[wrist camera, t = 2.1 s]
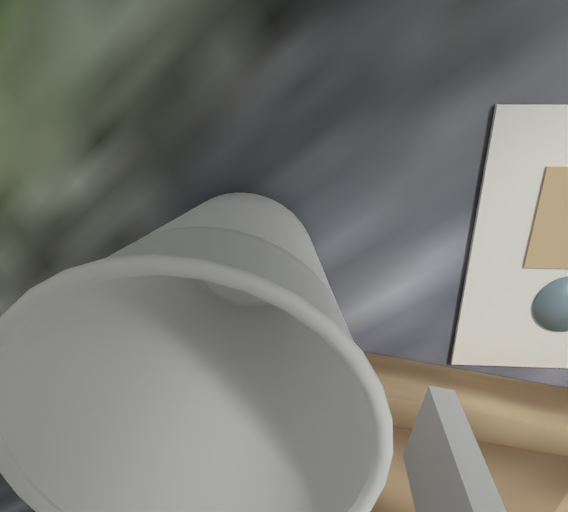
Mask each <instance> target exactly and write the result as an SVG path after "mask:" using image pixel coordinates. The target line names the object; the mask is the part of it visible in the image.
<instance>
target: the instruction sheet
mask: <svg viewBox="0 0 568 512" xmlns="http://www.w3.org/2000/svg"><path fill="white" fill-rule="evenodd" d="M450 362H451V364H452V365H482V366H512V367H543V368H568V104H495V109H494V114H493V120H492V126H491V132H490V137H489V143H488V149H487V154H486V160H485V166H484V172H483V177H482V183H481V189H480V195H479V200H478V206H477V212H476V218H475V223H474V229H473V235H472V240H471V246H470V252H469V258H468V263H467V269H466V275H465V281H464V286H463V292H462V298H461V304H460V309H459V315H458V321H457V327H456V332H455V338H454V344H453V349H452V355H451V361H450Z"/></svg>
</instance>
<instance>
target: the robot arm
mask: <svg viewBox="0 0 568 512" xmlns="http://www.w3.org/2000/svg"><path fill="white" fill-rule="evenodd" d="M403 458H404V463H405V467H406V472H407V476H408V480H409V485H410V489H411V494H412V498H413V502H414V507H415V511H416V512H507V511H506V509H505V507H504V504H503V502H502V500H501V497H500V495H499V493H498V490H497V488H496V486H495V483H494V481H493V479H492V476H491V474H490V472H489V469H488V467H487V465H486V462H485V460H484V457H483V455H482V453H481V450H480V448H479V446H478V443H477V441H476V439H475V436H474V434H473V432H472V429H471V427H470V425H469V422H468V420H467V418H466V415H465V413H464V411H463V408H462V406H461V404H460V401H459V399H458V397H457V394H456V392H455V390H452V389H446V388H440V387H434V386H428V389H427V391H426V394H425V397H424V399H423V402H422V405H421V407H420V410H419V413H418V415H417V418H416V421H415V423H414V426H413V429H412V431H411V434H410V437H409V439H408V442H407V445H406V448H405V450H404V453H403Z"/></svg>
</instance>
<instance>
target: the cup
mask: <svg viewBox="0 0 568 512" xmlns="http://www.w3.org/2000/svg"><path fill="white" fill-rule="evenodd" d="M392 457H393V419H392V416H391V412H390V409H389V405H388V402H387V399H386V395H385V392H384V388H383V385H382V383H381V382H380V380H379V378H378V377H377V375H376V373H375V371H374V370H373V368H372V366H371V364H370V363H369V361H368V359H367V358H366V356H365V354H364V352H363V351H362V350H361V349H360V348H359V347H358V346H357V345H356V344H355V342H354V341H353V339H352V337H351V334H350V332H349V330H348V327H347V325H346V322H345V320H344V318H343V315H342V313H341V310H340V309H339V307H338V304H337V302H336V300H335V297H334V294H333V293H332V290H331V287H330V286H329V282H328V281H327V278H326V275H325V273H324V270H323V269H322V266H321V264H320V261H319V259H318V256H317V254H316V251H315V249H314V246H313V244H312V241H311V239H310V237H309V235H308V233H307V231H306V229H305V228H304V226H303V224H302V223H301V222H300V221H299V219H298V218H297V217H296V216H295V215H294V214H293V213H292V212H291V211H290V210H288V209H287V208H286V207H284V206H283V205H282V204H280V203H278V202H276V201H274V200H272V199H270V198H268V197H264V196H261V195H257V194H252V193H242V192H239V193H229V194H224V195H220V196H217V197H214V198H211V199H210V200H208V201H206V202H204V203H202V204H200V205H199V206H197V207H195V208H193V209H192V210H190V211H188V212H186V213H185V214H183V215H181V216H180V217H178V218H176V219H174V220H172V221H171V222H169V223H167V224H165V225H164V226H162V227H160V228H158V229H157V230H155V231H153V232H151V233H150V234H148V235H146V236H144V237H142V238H141V239H139V240H137V241H135V242H134V243H132V244H130V245H128V246H126V247H124V248H122V249H121V250H119V251H117V252H115V253H114V254H112V255H110V256H108V257H107V258H104V259H100V260H97V261H93V262H90V263H86V264H83V265H79V266H76V267H72V268H69V269H65V270H63V271H61V272H60V273H58V274H56V275H54V276H52V277H50V278H49V279H47V280H45V281H43V282H41V283H40V284H38V285H36V286H34V287H32V288H30V289H29V290H28V291H27V292H26V293H25V294H24V295H22V296H21V297H20V298H19V299H18V300H17V301H16V302H15V303H14V304H13V305H12V306H11V307H10V308H8V309H7V310H6V311H5V312H4V313H3V314H2V315H1V316H0V473H1V474H2V476H3V477H4V478H5V480H6V481H7V482H8V483H9V485H10V486H11V487H12V489H13V490H14V491H15V492H16V494H17V495H18V496H19V497H20V498H21V499H22V500H23V501H25V502H26V503H27V504H28V505H29V506H30V507H31V508H32V509H33V510H34V511H35V512H370V511H371V510H372V508H373V506H374V504H375V503H376V501H377V499H378V497H379V495H380V493H381V492H382V490H383V488H384V486H385V484H386V481H387V477H388V473H389V469H390V465H391V461H392Z"/></svg>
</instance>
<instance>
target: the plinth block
mask: <svg viewBox="0 0 568 512" xmlns="http://www.w3.org/2000/svg"><path fill="white" fill-rule="evenodd" d="M364 354H365V356H366V358H367V359H368V361H369V363H370V364H371V366H372V368H373V370H374V371H375V373H376V375H377V377H378V378H379V380H380V382H381V383H382V385H383V388H384V392H385V395H386V399H387V402H388V405H389V409H390V412H391V416H392V419H393V457H392V461H391V465H390V469H389V473H388V477H387V481H386V484H385V486H384V488H383V490H382V492H381V493H380V495H379V497H378V499H377V501H376V503H375V504H374V506H373V508H372V510H371V511H370V512H416V511H415V507H414V502H413V498H412V494H411V489H410V485H409V480H408V476H407V472H406V467H405V463H404V458H403V453H404V450H405V448H406V445H407V442H408V439H409V437H410V434H411V431H412V429H413V426H414V423H415V421H416V418H417V415H418V413H419V410H420V407H421V405H422V402H423V399H424V397H425V394H426V391H427V389H428V386H434V387H440V388H446V389H452V390H455V392H456V394H457V397H458V399H459V401H460V404H461V406H462V408H463V411H464V413H465V415H466V418H467V420H468V422H469V425H470V427H471V429H472V432H473V434H474V436H475V439H476V441H477V443H478V446H479V448H480V450H481V453H482V455H483V457H484V460H485V462H486V465H487V467H488V469H489V472H490V474H491V476H492V479H493V481H494V483H495V486H496V488H497V490H498V493H499V495H500V497H501V500H502V502H503V504H504V507H505V509H506V511H507V512H568V388H564V387H558V386H553V385H547V384H542V383H536V382H530V381H525V380H519V379H513V378H508V377H502V376H497V375H491V374H485V373H480V372H474V371H468V370H463V369H457V368H452V367H446V366H440V365H435V364H429V363H423V362H418V361H412V360H406V359H401V358H395V357H390V356H384V355H378V354H373V353H367V352H364Z"/></svg>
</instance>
